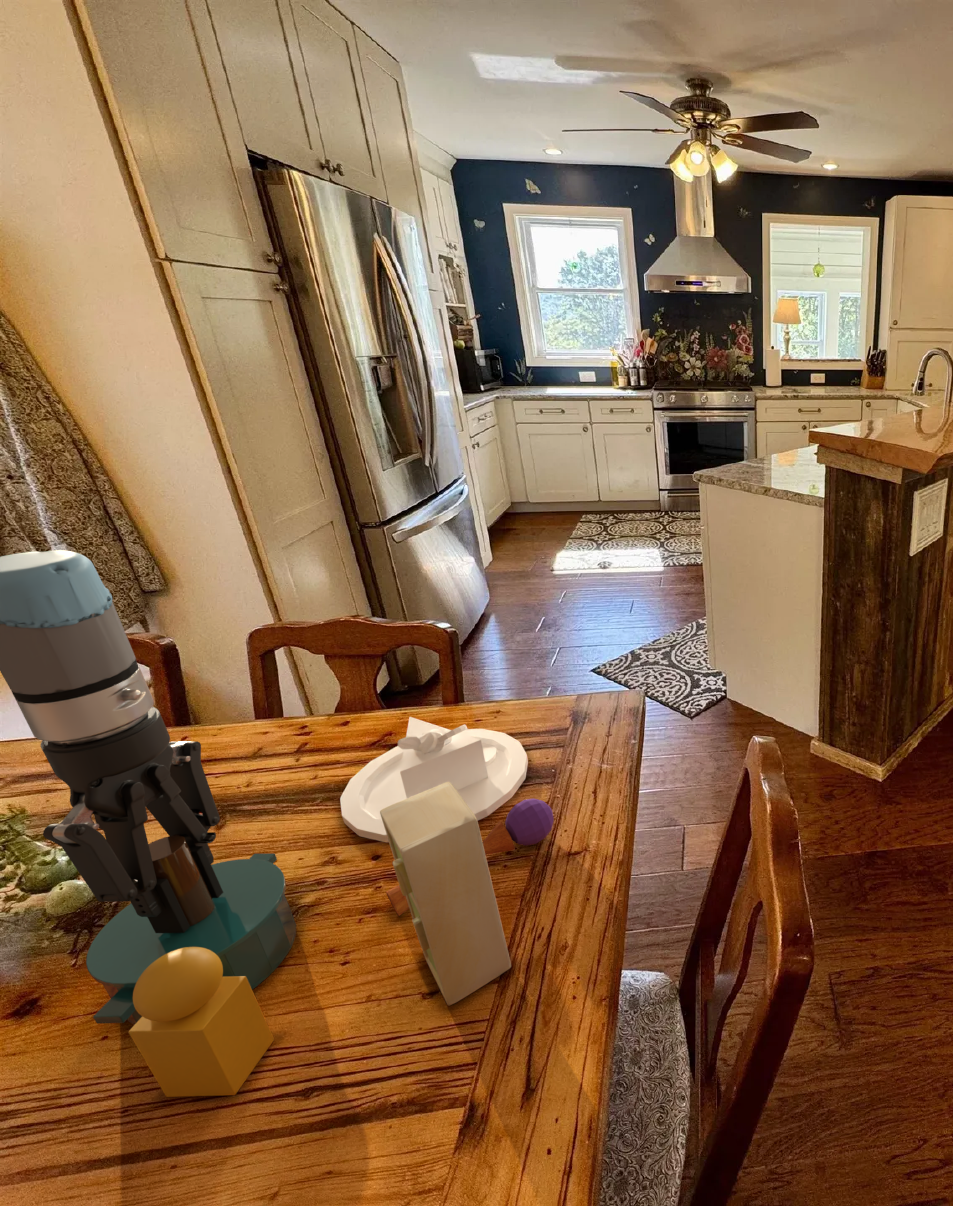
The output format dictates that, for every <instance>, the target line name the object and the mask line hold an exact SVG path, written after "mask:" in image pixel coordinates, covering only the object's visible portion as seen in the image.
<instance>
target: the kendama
mask: <svg viewBox="0 0 953 1206" xmlns="http://www.w3.org/2000/svg"><path fill="white" fill-rule="evenodd" d="M554 822H555V819H554V813H553V809H552V807H551V806H550V805H549V804H548V803H546V802H545V801H544V800H541V799H539V798H538V799H537V798H527V799H523V800H522V801H520V802H518V803H516V804H515V805H514V806H513V807H512V808H511V809H510V811H509V812H508V813H507V815H506V818H505V821H504V824H505V825H504V824H503V823H502V822H501V821H498V822H497V823H496V825H495V826H494V827H493V829H491V831H490V832H489V833H488V835H487V836H486V837H485V838H484V840H482V843H483V847H484V851H485V855H492V854H493V855H494V854H499V853H506V852H511V851H514V850H515V844H516V845H520V846H525V847H527V846H533V845H537V844H538V843H540V842H541V841H542V840H545V839H546V838H547V836H548V835H549V834H550V832H552V828H553V826H554ZM514 843H515V844H514ZM385 894H386V896H387V898H388V900H389V902H390V904H391V907H392V908H393V909H394V912H395V913H396V915H397V916H398V917H400V916H402V914H404V913H406V912H407V911H408V910H410V908H409V905H408V902H407V899H406V896H403V894H402V892H401V889H400V886H399V884H398V885H396V886H394V887H392V888H389V889H388V890H386V891H385Z"/></svg>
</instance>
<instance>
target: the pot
mask: <svg viewBox="0 0 953 1206" xmlns="http://www.w3.org/2000/svg"><path fill="white" fill-rule="evenodd" d="M248 859H258V860H264V861H267V862H271V863H273V864H275V862H276V861H277V860H278V858H277V855H276V853H273V852H272V853H269V852H267V853H254V854H252V855H251V856H250V857H249V858H248ZM296 936H297V922H296V920H295V918H294V915H293V912H292V910H291V906H290V905H289V901H288V900H287V896H286V894H284V896H283V899H282V901H281V903H280V904H279V906H278V908H277V909H276V911H275V912H274V913H273V914H272V916H271V917H270V918H269V919H268V920H267V921H266V922H265V923H264V925H263V926H261V927H260V928H259V929H258V930H257V931H256V932H255V933H254V934H253V935H251V936H250V937H249V938H248V939H246V940H245V941H244V942H242V943H241V944H240V945H238V946H237V947H235V948H234V949H232V950H231V951H229V952H227V953H226V954H224V955H223V956H221V957H219V958H220V960H221V962H222V966H223V976H222V977H233V976H246V978H247V980H248V982H249V984H250V987H251V989H252V991H253V990H254V989H255V988H256V987H258V986H259V985H260V984H262V983H263V982H264V981H265V980H266V979H268V977H270V976H271V975H272V974H273V973H274V972H275V970H277V969H278V967H279V966H280V965H281V964H282V963H283V961H284V960H285V959H286V957H287V956H288V954H289V952H290V951H291V949H292V947H293V945H294V942H295V940H296ZM102 986H103V988H104V990H105V992H106V993H107V995H108V997H109V1000H108V1001H107V1002H105V1004H104V1005H103V1006H102V1007H101V1008H100V1009H99V1010H98V1011H96V1013H95V1014H94V1015H93V1016H92V1018H93V1020H94V1022H95V1023H96V1024H97V1025H98V1024H99V1025H101V1024H102V1025H105V1024H124V1023H125V1022H126V1021H127V1022H128V1023H129V1024H131V1025H133V1026H134V1025H135V1024H136V1023H137V1022H138V1021H139V1020H140V1018H141V1017H142V1016H141V1015H140V1014H139V1013H138V1012H137V1010H136V1009H135V1007H134V1004H133V991H134V988H135V987H129V988H120V987H111V986H106V985H104V984H102Z"/></svg>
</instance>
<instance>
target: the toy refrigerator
mask: <svg viewBox="0 0 953 1206" xmlns="http://www.w3.org/2000/svg"><path fill="white" fill-rule="evenodd" d="M380 815H381V818H382V821H383V824H384V827H385V831H386V834H387V837H388V840H389V842H388V843H389V846H390V850H391V853H392V857H393V859H394V860H392V866H393V869H394V873H395V876H396V879H397V882H398V885H399V886H400V889H401V892H402V894H403V896H406V899H407V902H408V905H409V912H410V915H411V918H412V920H411V921H412V925H413V927H414V930H415V933H416V937H417V940H418V942H419V945H420V948H421V950H422V953H423V956H424V959H425V961H426V963H427V965H428V968H429V970H430V972H431V974H432V976H433V978H434V980H435V982H436V984H437V987H438V988H439V990H440V992H441V995H442V997H443V999H444V1002H445V1003H446V1005H447V1006H452V1005H454V1004H457V1003H458V1002H459V1001H461V1000H463V999H464V998H467V997H468V996H469V995H471V994H472V993H474V992H476V991H477V990H479V989H481V988H482V987H484V986H485V985H487V984H488V983H490V982H491V981H493V980H494V979H497V978H498V977H500V976H501V975H503V974H504V973H505V972H507V971H508V970H510V969H511V968H512V962H511V957H510V954H509V950H508V946H507V945H508V944H507V941H506V937H505V933H504V928H503V924H502V920H501V915H500V911H499V905H498V902H497V898H496V894H495V890H494V886H493V881H492V877H491V872H490V867H489V865H488V860H487V856H486V855H485V851H484V847H483V843H482V842H483V838H482V834H481V830H480V826H479V822H478V821H479V820H478V821H477V819H476V817H475V815H474V813H473V812H472V811H471V809H470V808H469V806H468V805H467V804H466V802H465V801H464V800H463V798H462V797H461V796H460V794H459V793H458V792H457V790H456V789H455V787H454V786H453V785H452V784H451V783H450V782H446V783H443V784H441V785H438V786H436V787H434V788H431V789H429V790H426V791H424V792H421V793H419V794H417V795H414V796H412V797H410V798H407V799H405V800H402V801H400V802H397V803H395V804H392V805H390V806H388V807H386V808H384V809H382V810H381V811H380Z"/></svg>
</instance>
